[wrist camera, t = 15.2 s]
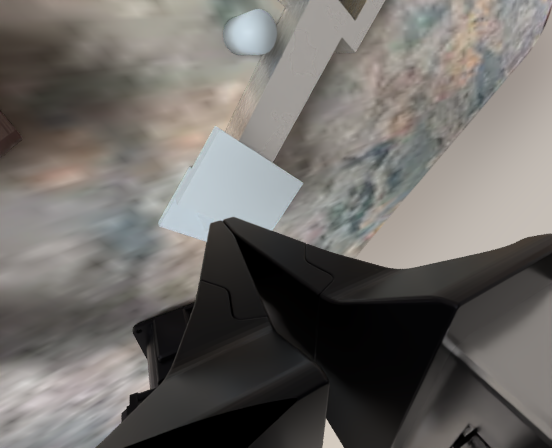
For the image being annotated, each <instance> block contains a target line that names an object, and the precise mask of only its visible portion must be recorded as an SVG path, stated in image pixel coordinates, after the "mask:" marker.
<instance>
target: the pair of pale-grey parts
mask: <svg viewBox="0 0 552 448" xmlns="http://www.w3.org/2000/svg"><path fill="white" fill-rule="evenodd" d="M223 38H224V42H225V45H226V46H227V48H228V49H229V50H230V51H231V52H232V53H234V54H236V55H262V54H266V53H268V52H269V51H270V50H271V49H272V48H273V46H274V45H275V42H276V38H277V28H276V24H275V21H274V19H273V18H272V16H271V15H270V14H269V13H268V12H267V11H265V10H262V9H255V10H252V11H249V12H247V13H244V14H241V15H239V16H236V17H233V18H231V19H229V20H228V21H227V23H226V24H225V27H224V31H223ZM302 185H303V182H301V181H300V180H298V179H297V178H295V177H294V176H292V175H291V174H289V173H288V172H286V171H285V170H283V169H281V168H280V167H278V166H277V165H275V164H274V163H272V162H271V161H269V160H267V159H266V158H264V157H263V156H261V155H260V154H258V153H257V152H255V151H254V150H252V149H250V148H249V147H247V146H246V145H244V144H243V143H241V142H240V141H238V140H236V139H235V138H233V137H232V136H230V135H229V134H227V133H226V132H224V131H223V130H221V129H219V128H218V127H216V126H215V127H214V129H213V131H212V132H211V134H210V136H209V138H208V140H207V141H206V143H205V145H204V147H203V149H202V150H201V152H200V154H199V156H198V157H197V159H196V161H195V163H194V165H193V166H192V167H190V166H189V168H188V170H187V172H186V174H185V175H184V177H183V179H182V181H181V183H180V184H179V186H178V188H177V190H176V192H175V193H174V195H173V197H172V199H171V201H170V202H169V204H168V206H167V208H166V210H165V211H164V213H163V215H162V217H161V219H160V220H159V222H158V223H159V226H160V227H163V228H166V229H169V230H172V231H175V232H178V233H181V234H184V235H187V236H190V237H194V238H197V239H200V240H203V241H206V242H207V237H208V231H209V226H210V223H212V222H216V221H219V220H221V221H223V220H224V219H227V218H230V217H236V218H239V219H242V220H244V221H247V222H250V223H252V224H255V225H258V226H260V227H263V228H266V229H269V230H271V231H272V230H273V229H274V227H275V226H276V224H277V223H278V221H279V220H280V218H281V217H282V215H283V214H284V212H285V211H286V209H287V207H288V206H289V204H290V203H291V201H292V200H293V198H294V197H295V195H296V194H297V192H298V191H299V189H300V188H301V186H302Z"/></svg>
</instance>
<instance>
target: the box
mask: <svg viewBox="0 0 552 448" xmlns="http://www.w3.org/2000/svg"><path fill="white" fill-rule="evenodd" d="M21 140H22V137H21V135H20V133H19V132H18V131H17V130H16V129H15V128H14V127H13V125H12V124H11V123H10V122H9V120H8V119H7V118H6V117H5V115H4V114H3V113H2V112H1V111H0V158H1V157H2V156H3V155H5V154H6V153H7V152H8V151H9V150H10V149H11V148H12V147H14V146H15V145H16V144H17V143H19V142H20V141H21Z"/></svg>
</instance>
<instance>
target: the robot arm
mask: <svg viewBox="0 0 552 448" xmlns="http://www.w3.org/2000/svg"><path fill="white" fill-rule="evenodd" d="M138 329H140V330H138ZM133 334H134V336H135V338H136V340H137V342H138V344H139V345H140V347H141V349H142V351H143V353H144V355H145V356H146V358H147V360H148V371H149V382H150V390H147V391H144V392H141V393H138V392H137V393H134V394H131V395H130V405H129V406H127V409H126V410H125V411H124V412H123V413H122V423H121V424H120V425H119V426H118V427H116V428H115V429H114V430H113V431H112V432H111V433H110V434H109V435H108V436H107V437H106V438H105V439H104V440H103V441H102V442H101V443H100V444H99V445H98V446H97V447H95V448H322V445H323V437H324V428H325V420H326V419H327V420H328V422H329V424H330V425H331V427H332V429H333V430H334V432H335V433H336V435H337V437H338V438H339V440H340V442H341V443H342V445H343V447H344V448H552V234H544V235H537V236H532V237H527V238H524V239H522V240H520V241H518V242H516V243H514V244H511V245H509V246H506V247H502V248H499V249H495V250H491V251H487V252H483V253H480V254H474V255H470V256H466V257H461V258H456V259H451V260H447V261H442V262H438V263H433V264H429V265H424V266H420V267H415V268H409V269H393V268H386V267H383V266H379V265H375V264H372V263H368V262H364V261H361V260H357V259H353V258H350V257H346V256H343V255H339V254H336V253H333V252H329V251H326V250H323V249H321V248H318V247H315V246H312V245H309V244H306V243H304V242H301V241H298V240H296V239H293V238H290V237H288V236H285V235H282V234H279V233H277V232H274V231H271V230H269V229H266V228H263V227H260V226H258V225H255V224H252V223H250V222H247V221H244V220H242V219H239V218H236V217H230V218H227V219H224V220H223V221H221V220H219V221H216V222H212V223H210V226H209V231H208V237H207V242H206V248H205V253H204V259H203V264H202V270H201V276H200V282H199V286H198V291H197V295H196V300H195V303H193V304H190V305H187V306H185V307H182V308H179V309H177V310H174V311H172V312H169V313H166V314H164V315H161V316H158V317H156V318H153V319H150V320H148V321H145V322H142V323H140V324H137V325H135V326H134V327H133Z"/></svg>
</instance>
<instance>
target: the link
mask: <svg viewBox="0 0 552 448" xmlns="http://www.w3.org/2000/svg"><path fill="white" fill-rule="evenodd" d="M278 1H279V2H280V3H281V4H282V5H283V6H284V7H285V10H284V12H283V14H282V16H281V18H280V20H279V22H278V24H277V26H276V28H277V38H276V42H275V45H274V46H273V48H272V49H271V50H270V51H269V52H268V53H266V54H263V55H262V57H261V59H260V61H259V63H258V65H257V67H256V69H255V71H254V73H253V75H252V77H251V79H250V81H249V83H248V85H247V87H246V89H245V91H244V93H243V96H242V98H241V100H240V102H239V104H238V106H237V108H236V110H235V112H234V114H233V116H232V118H231V120H230V122H229V124H228V126H227V128H226V130H225V132H226V133H227V134H229V135H230V136H232V137H233V138H235V139H236V140H238V141H240V142H241V143H243V144H244V145H246V146H247V147H249V148H250V149H252V150H254V151H255V152H257V153H258V154H260V155H261V156H263V157H264V158H266V159H267V160H269V161H271V162H272V163H273V161H274V160H275V158H276V156H277V154H278V152H279V150H280V149H281V147H282V145H283V143H284V141H285V140H286V138H287V136H288V134H289V132H290V130H291V129H292V127H293V125H294V123H295V121H296V120H297V118H298V116H299V114H300V112H301V110H302V109H303V107H304V105H305V103H306V101H307V100H308V98H309V96H310V94H311V92H312V90H313V89H314V87H315V85H316V83H317V81H318V80H319V78H320V76H321V74H322V72H323V70H324V69H325V67H326V65H327V63H328V61H329V60H330V58H331V56H332V54H333V53H356V51H357V49H358V47H359V46H360V44H361V42H362V40H363V39H364V37H365V35H366V33H367V31H368V30H369V28H370V26H371V24H372V23H373V21H374V19H375V17H376V16H377V14H378V12H379V10H380V9H381V7H382V5H383V3H384V2H385V0H341V1H339V0H278Z"/></svg>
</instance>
